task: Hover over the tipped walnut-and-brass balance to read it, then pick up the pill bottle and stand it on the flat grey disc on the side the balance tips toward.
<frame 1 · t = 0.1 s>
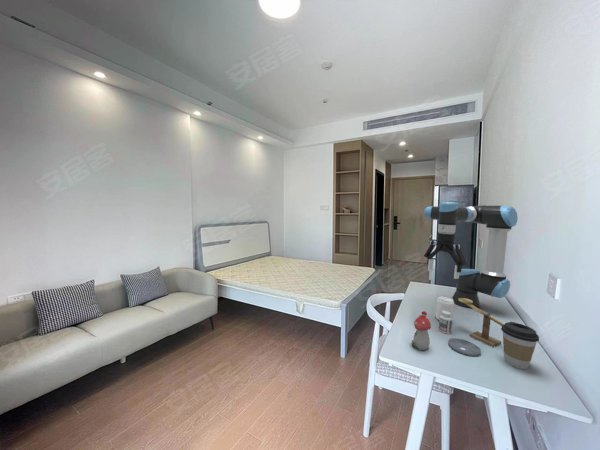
hand: (442, 274, 122), 28 cm above the table, fingers open, 13 cm apart
beverage can: (443, 320, 134), on the table
flat grey disc: (463, 348, 107), on the table
pill bottle: (444, 331, 121), on the table
coffee cup: (515, 363, 97), on the table
decorative ornament: (420, 346, 107), on the table
balance: (484, 339, 114), on the table
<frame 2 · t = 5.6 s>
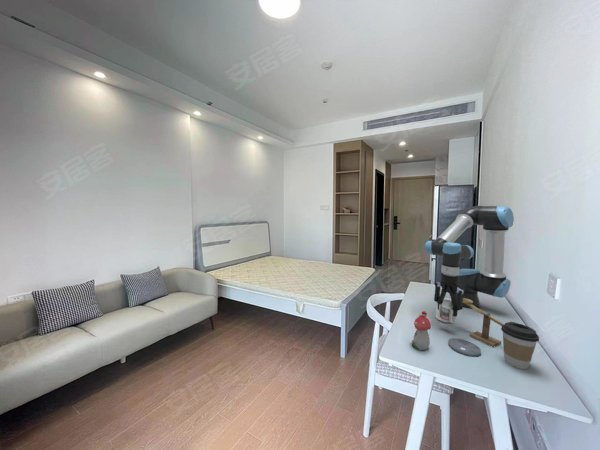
hand: (446, 319, 121), 6 cm above the table, fingers closed on pill bottle, 5 cm apart
pill bottle: (446, 320, 121), point 6 cm above the table, touching gripper
everything else where it was.
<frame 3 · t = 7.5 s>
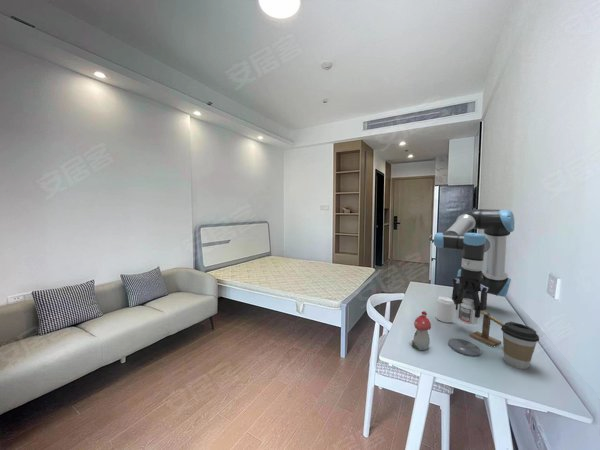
hand: (466, 320, 106), 13 cm above the table, fingers closed on pill bottle, 5 cm apart
pill bottle: (466, 321, 106), point 12 cm above the table, touching gripper
everything else where it was.
when the fingers open (2 cm above the table, at t = 9.6 s): pill bottle stays where it is, resting on flat grey disc.
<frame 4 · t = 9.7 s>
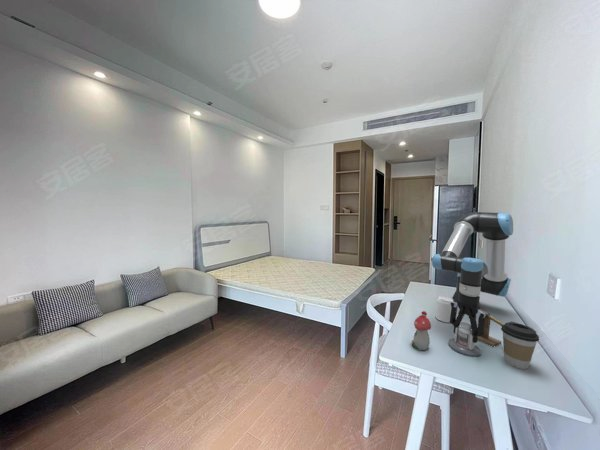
hand: (464, 344, 107), 2 cm above the table, fingers open, 5 cm apart
pill bottle: (464, 345, 107), point 1 cm above the table, touching flat grey disc
everything else where it was.
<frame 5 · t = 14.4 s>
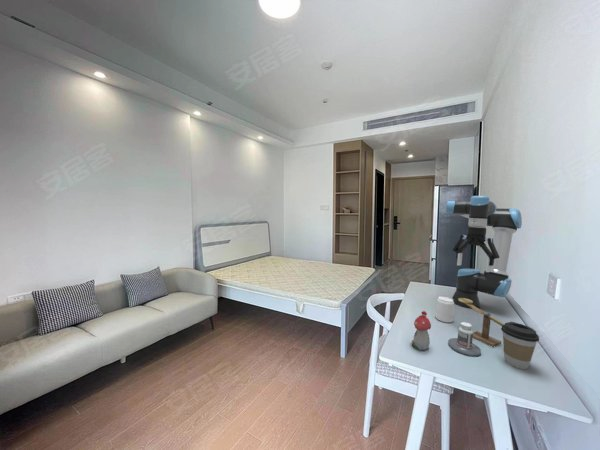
hand: (473, 268, 123), 32 cm above the table, fingers open, 13 cm apart
nothing on the table moved.
at the end: pill bottle inside the target area on the flat grey disc (0.2 cm from its centre), point 1.0 cm above the flat grey disc's base; pill bottle tilted 0°; the gripper is holding nothing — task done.
